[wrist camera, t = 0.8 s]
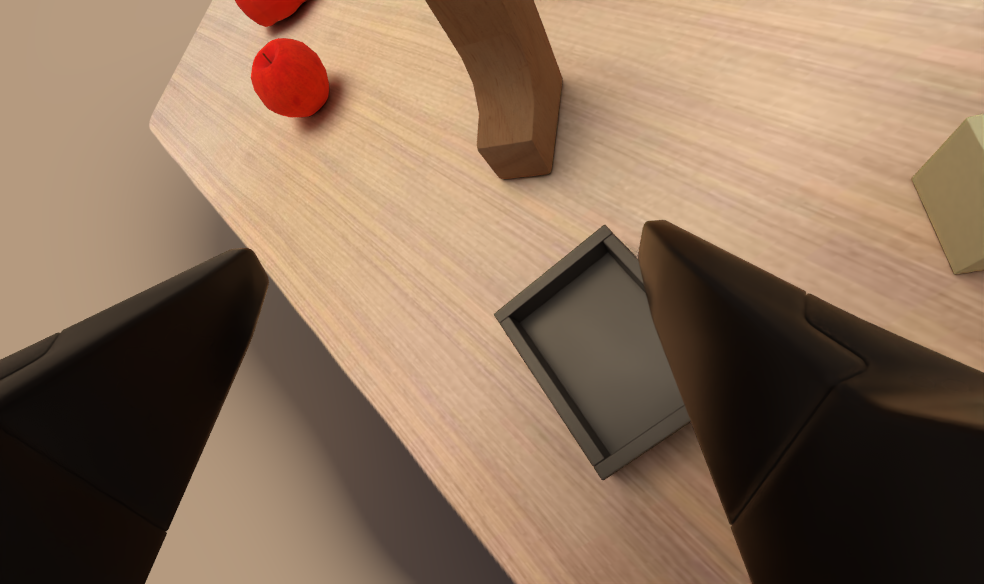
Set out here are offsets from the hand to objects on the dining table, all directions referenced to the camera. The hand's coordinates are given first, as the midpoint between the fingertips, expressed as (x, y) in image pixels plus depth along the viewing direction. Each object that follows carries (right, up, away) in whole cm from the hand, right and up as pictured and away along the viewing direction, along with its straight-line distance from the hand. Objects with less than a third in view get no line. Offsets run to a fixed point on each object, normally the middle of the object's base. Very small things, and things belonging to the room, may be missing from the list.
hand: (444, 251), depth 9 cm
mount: (+9, -5, +16) cm, 19 cm away
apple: (-19, +21, +38) cm, 48 cm away
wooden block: (+4, +12, +24) cm, 27 cm away
